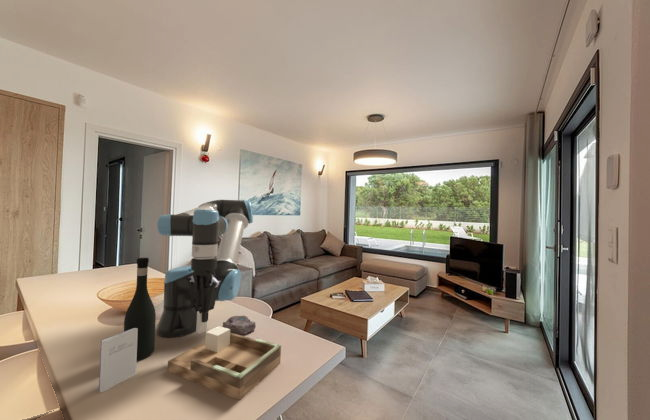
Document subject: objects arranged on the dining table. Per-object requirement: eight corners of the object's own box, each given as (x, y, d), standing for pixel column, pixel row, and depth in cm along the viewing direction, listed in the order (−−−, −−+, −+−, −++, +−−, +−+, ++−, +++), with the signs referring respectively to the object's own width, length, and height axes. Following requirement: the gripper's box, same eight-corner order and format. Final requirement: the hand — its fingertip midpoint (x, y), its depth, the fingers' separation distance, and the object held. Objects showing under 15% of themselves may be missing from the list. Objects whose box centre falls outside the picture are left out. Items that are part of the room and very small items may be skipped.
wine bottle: (116, 359, 78) (120, 258, 79) (142, 346, 86) (146, 255, 86) (134, 365, 75) (138, 261, 76) (160, 351, 83) (164, 257, 83)
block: (205, 348, 80) (205, 332, 80) (218, 341, 85) (218, 325, 85) (217, 352, 78) (217, 335, 78) (229, 345, 82) (230, 329, 83)
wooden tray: (167, 371, 73) (168, 350, 73) (215, 344, 88) (216, 327, 88) (239, 402, 62) (240, 377, 62) (280, 365, 78) (281, 345, 78)
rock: (247, 337, 93) (247, 324, 93) (219, 334, 95) (219, 321, 96) (258, 328, 101) (258, 315, 101) (232, 325, 103) (232, 313, 104)
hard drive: (98, 391, 64) (100, 340, 65) (132, 372, 72) (134, 327, 72) (102, 392, 64) (104, 341, 64) (136, 374, 71) (138, 328, 72)
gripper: (180, 257, 83) (176, 331, 83) (209, 260, 78) (206, 340, 77) (200, 254, 90) (197, 323, 89) (228, 257, 85) (225, 331, 84)
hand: (201, 331), depth 83 cm, fingers closed
